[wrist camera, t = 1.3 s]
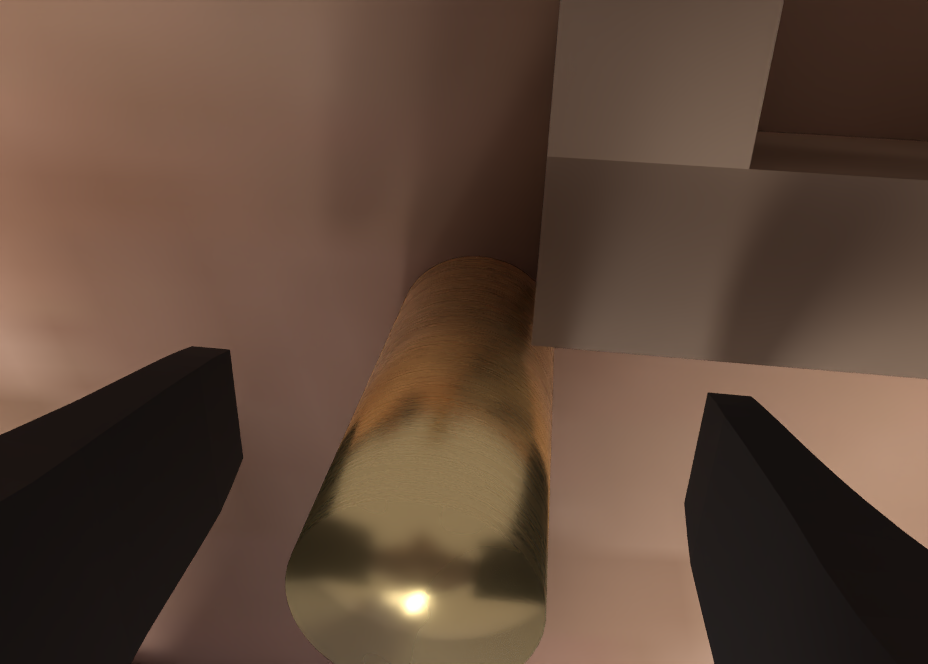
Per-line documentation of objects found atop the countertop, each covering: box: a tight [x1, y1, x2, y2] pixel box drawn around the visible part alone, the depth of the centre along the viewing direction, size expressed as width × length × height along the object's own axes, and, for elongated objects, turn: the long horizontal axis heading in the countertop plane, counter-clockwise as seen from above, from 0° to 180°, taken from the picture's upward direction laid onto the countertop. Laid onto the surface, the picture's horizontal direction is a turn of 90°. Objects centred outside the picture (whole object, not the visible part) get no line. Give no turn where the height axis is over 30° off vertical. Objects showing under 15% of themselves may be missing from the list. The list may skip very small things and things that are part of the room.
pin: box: [285, 256, 554, 664], centre depth 12 cm, size 3×3×7 cm
